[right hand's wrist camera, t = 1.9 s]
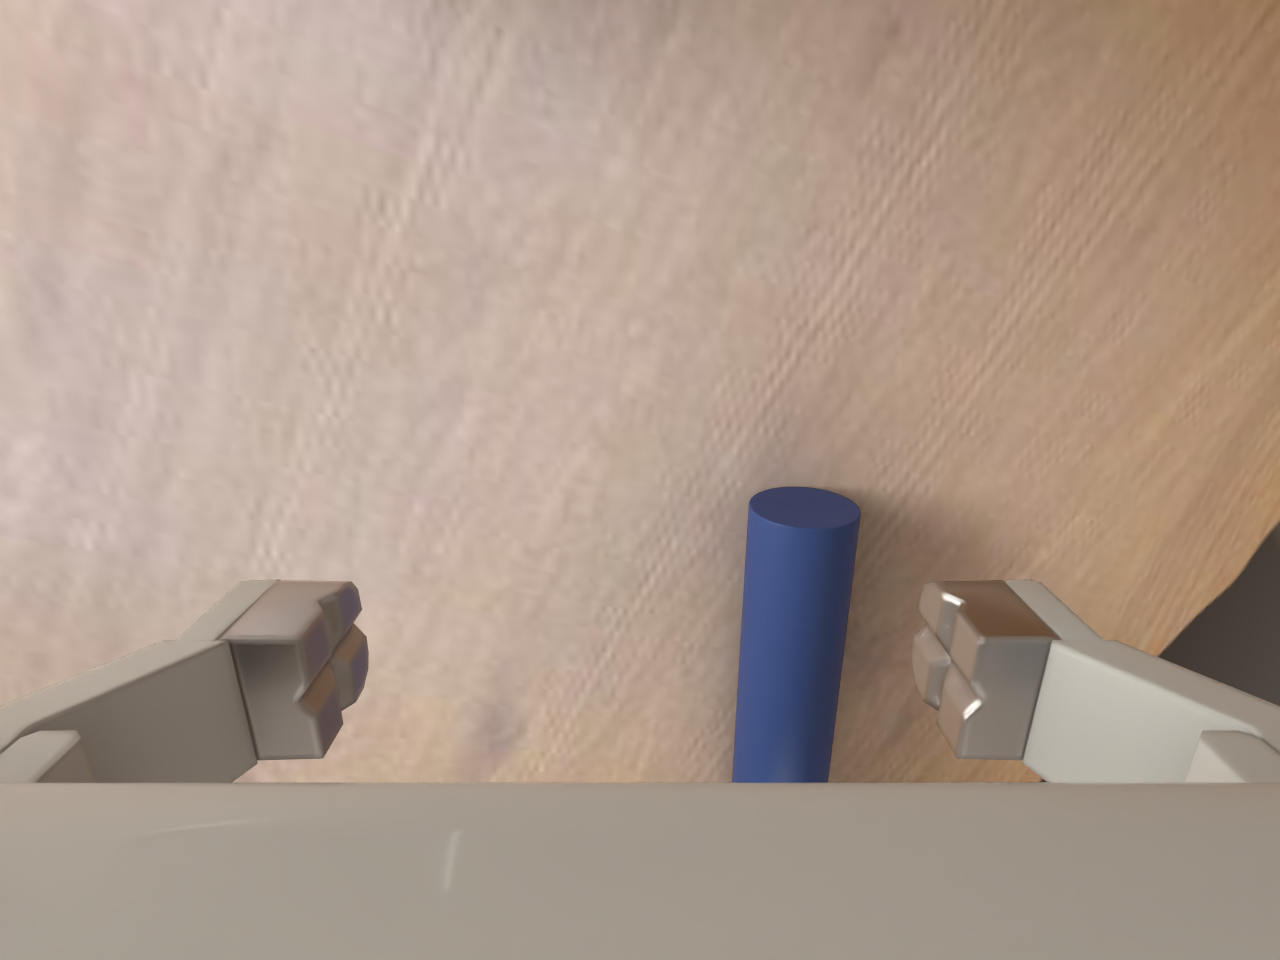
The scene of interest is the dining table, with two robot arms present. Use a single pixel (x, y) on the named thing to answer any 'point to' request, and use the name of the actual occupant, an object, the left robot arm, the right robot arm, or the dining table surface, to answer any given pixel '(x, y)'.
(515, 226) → the dining table surface
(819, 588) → the cylinder
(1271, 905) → the right robot arm
